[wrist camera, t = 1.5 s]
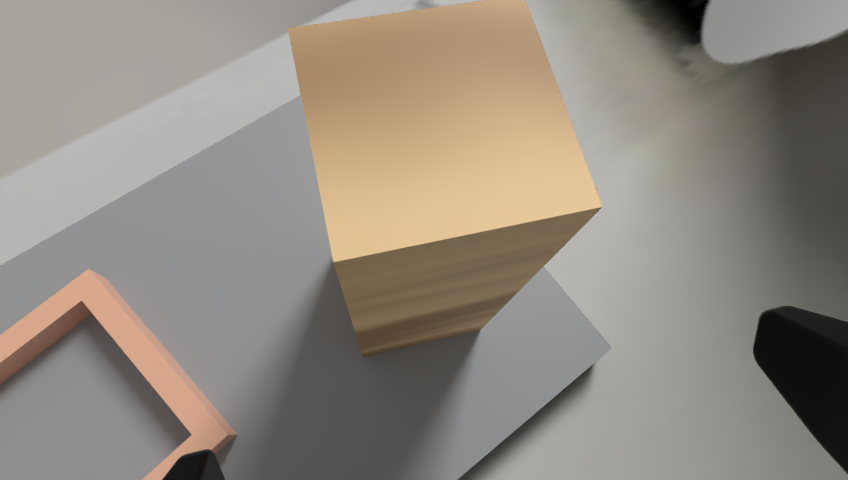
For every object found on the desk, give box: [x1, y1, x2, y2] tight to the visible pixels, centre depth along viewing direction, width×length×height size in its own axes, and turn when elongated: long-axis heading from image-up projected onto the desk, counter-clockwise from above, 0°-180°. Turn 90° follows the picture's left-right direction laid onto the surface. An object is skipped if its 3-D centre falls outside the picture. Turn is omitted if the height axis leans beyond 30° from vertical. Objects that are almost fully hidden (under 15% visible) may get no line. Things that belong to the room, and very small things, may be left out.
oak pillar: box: [288, 0, 602, 357], centre depth 15 cm, size 4×4×12 cm
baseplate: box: [0, 95, 612, 480], centre depth 20 cm, size 22×16×2 cm
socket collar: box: [0, 269, 237, 480], centre depth 18 cm, size 8×8×1 cm
